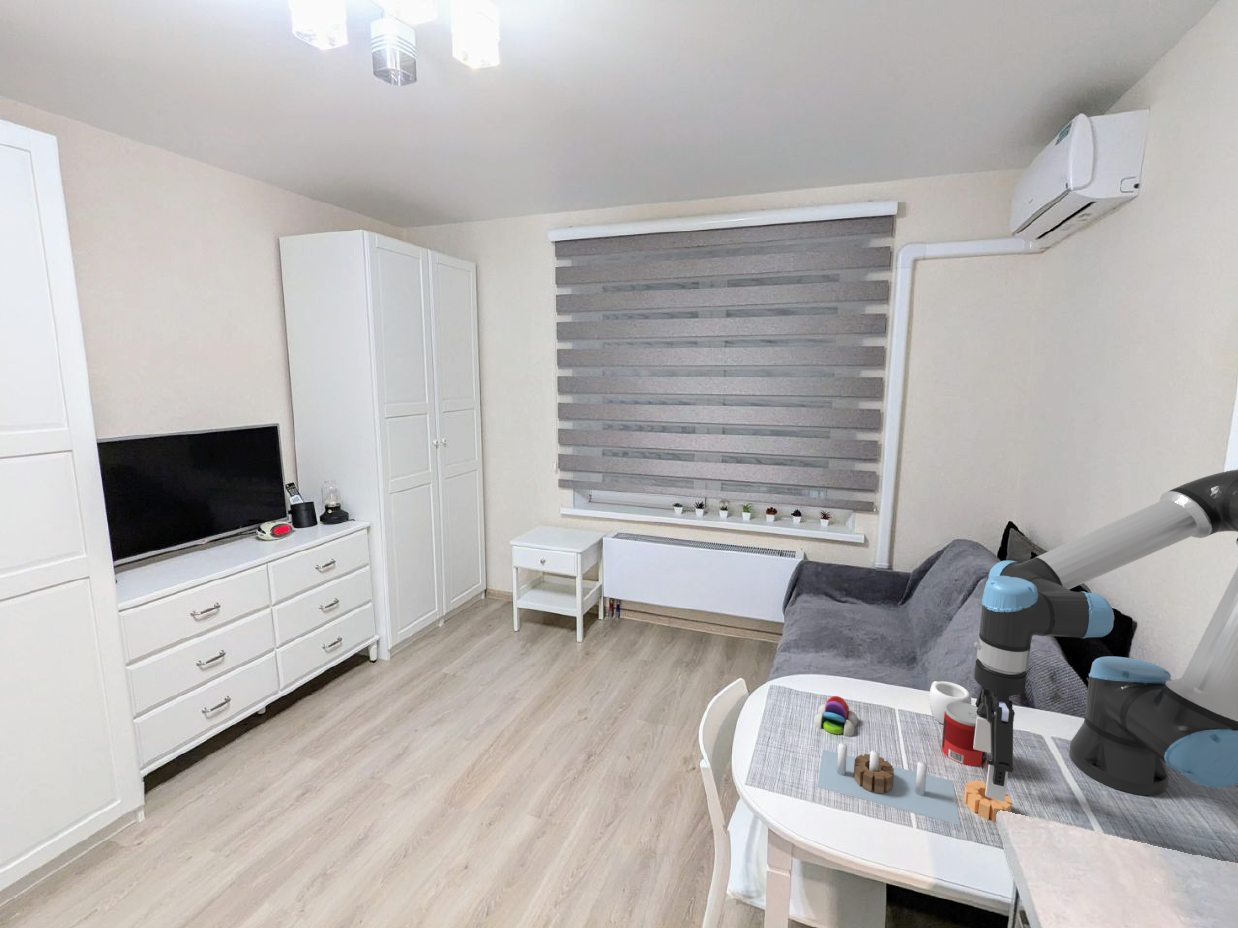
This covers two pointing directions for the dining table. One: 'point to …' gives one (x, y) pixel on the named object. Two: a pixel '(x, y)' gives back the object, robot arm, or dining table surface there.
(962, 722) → the canned food
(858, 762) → the gear
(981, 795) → the gear
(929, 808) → the gear board
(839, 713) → the multicolored petal toy
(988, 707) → the robot arm
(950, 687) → the mug
